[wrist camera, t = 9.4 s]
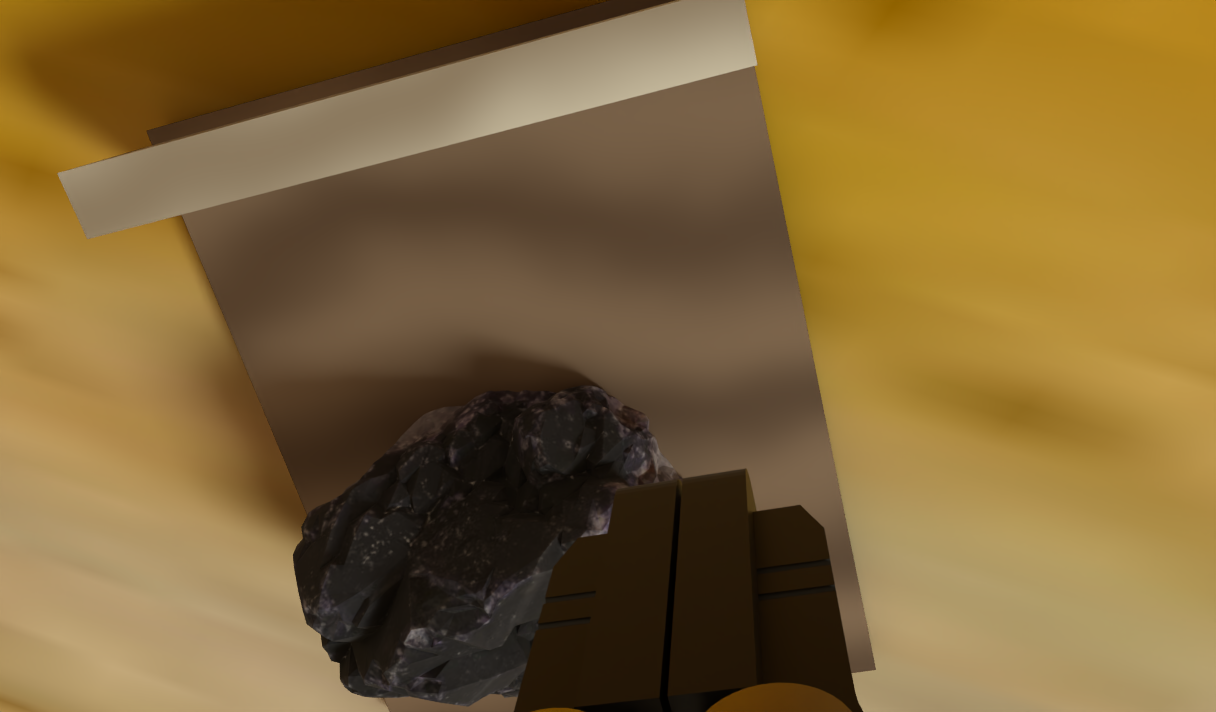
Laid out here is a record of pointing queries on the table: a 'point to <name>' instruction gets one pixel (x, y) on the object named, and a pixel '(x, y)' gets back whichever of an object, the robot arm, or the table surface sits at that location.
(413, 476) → the black rock
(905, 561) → the table surface
